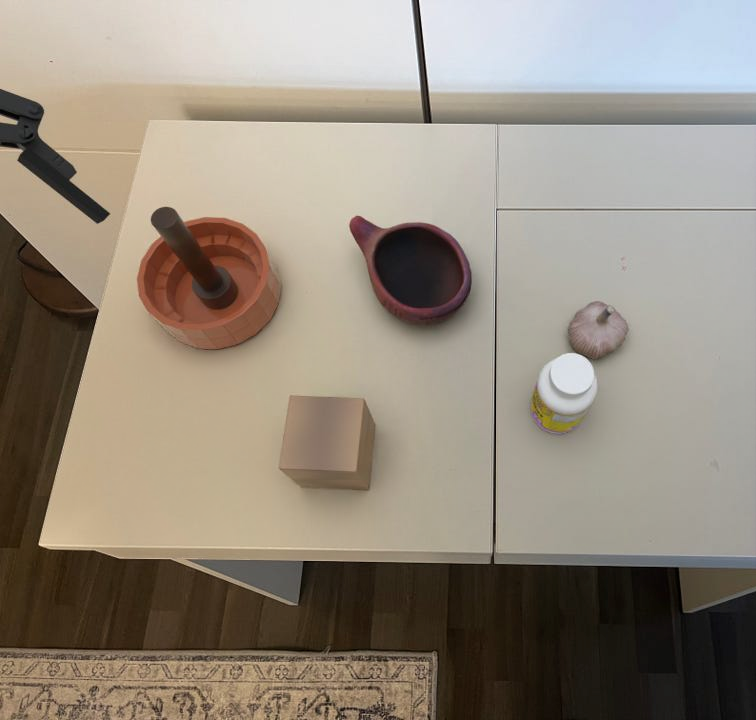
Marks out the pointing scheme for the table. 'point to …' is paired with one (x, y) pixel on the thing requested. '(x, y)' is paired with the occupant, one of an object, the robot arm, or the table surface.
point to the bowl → (414, 269)
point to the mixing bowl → (183, 307)
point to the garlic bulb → (597, 330)
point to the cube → (328, 443)
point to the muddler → (195, 260)
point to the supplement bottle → (563, 393)
